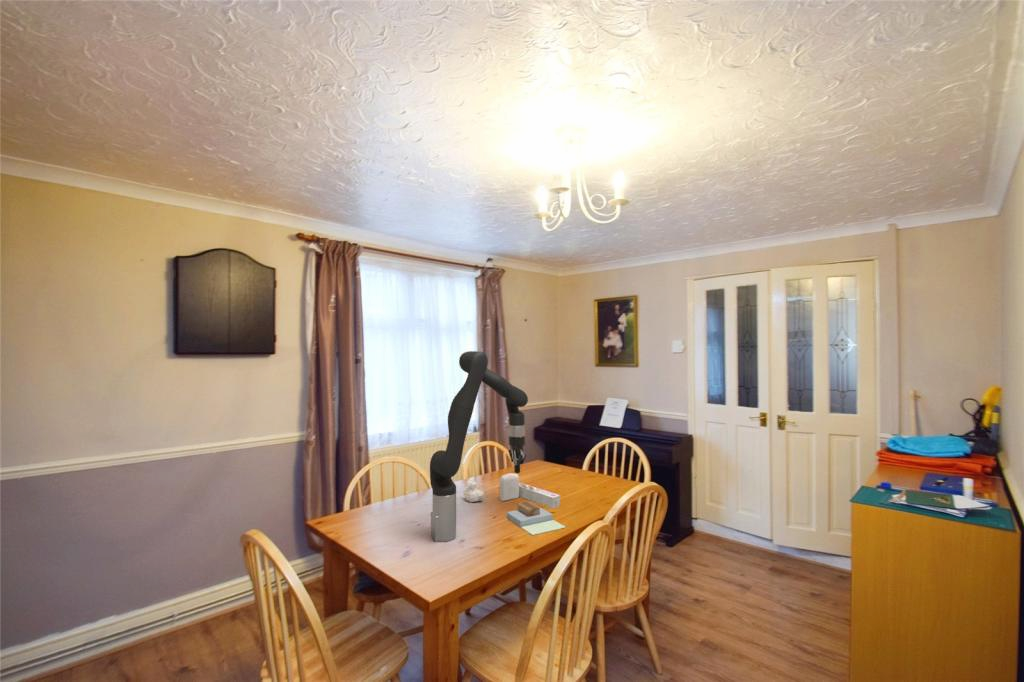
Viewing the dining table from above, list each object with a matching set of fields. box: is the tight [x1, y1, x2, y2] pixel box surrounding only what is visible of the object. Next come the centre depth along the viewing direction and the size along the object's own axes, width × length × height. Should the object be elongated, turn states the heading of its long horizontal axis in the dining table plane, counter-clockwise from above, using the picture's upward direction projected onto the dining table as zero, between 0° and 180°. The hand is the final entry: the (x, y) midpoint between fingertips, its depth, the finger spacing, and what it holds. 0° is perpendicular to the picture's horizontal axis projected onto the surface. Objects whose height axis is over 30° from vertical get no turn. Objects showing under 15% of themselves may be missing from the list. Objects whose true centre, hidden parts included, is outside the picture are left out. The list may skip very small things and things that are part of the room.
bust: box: [462, 480, 485, 503], centre depth 214 cm, size 12×8×11 cm
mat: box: [520, 519, 566, 536], centre depth 181 cm, size 16×9×1 cm, turn 119°
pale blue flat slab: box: [506, 505, 554, 528], centre depth 191 cm, size 16×12×2 cm
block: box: [516, 501, 540, 517], centre depth 192 cm, size 6×9×3 cm, turn 29°
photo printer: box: [499, 472, 520, 502], centre depth 218 cm, size 10×4×12 cm, turn 123°
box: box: [519, 482, 561, 509], centre depth 216 cm, size 27×5×6 cm, turn 43°
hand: (517, 472), depth 201 cm, fingers closed
